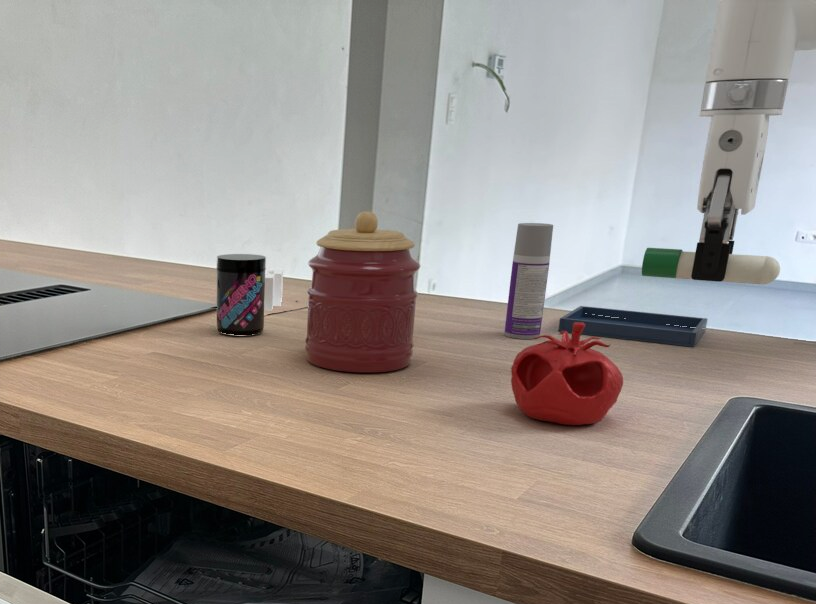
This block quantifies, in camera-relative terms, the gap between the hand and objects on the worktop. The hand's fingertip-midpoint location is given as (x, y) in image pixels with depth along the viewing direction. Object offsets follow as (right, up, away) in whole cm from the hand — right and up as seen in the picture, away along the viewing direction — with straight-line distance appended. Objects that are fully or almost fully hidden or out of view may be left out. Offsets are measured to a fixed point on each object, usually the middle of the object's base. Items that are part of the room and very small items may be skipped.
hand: (709, 276), depth 96 cm
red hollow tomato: (-22, -16, -12) cm, 30 cm away
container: (-13, -4, +23) cm, 27 cm away
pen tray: (+4, -3, +26) cm, 27 cm away
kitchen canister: (-38, -9, +9) cm, 40 cm away
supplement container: (-52, -3, +24) cm, 57 cm away
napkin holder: (-47, +4, +44) cm, 65 cm away
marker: (0, 0, 0) cm, 0 cm away
